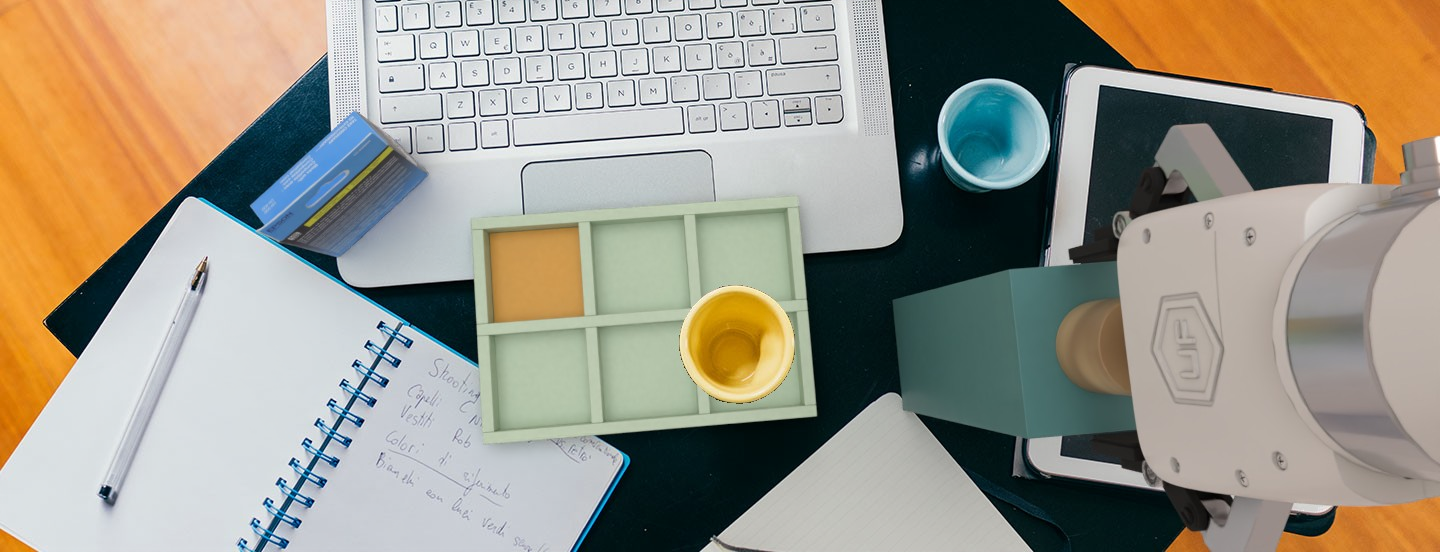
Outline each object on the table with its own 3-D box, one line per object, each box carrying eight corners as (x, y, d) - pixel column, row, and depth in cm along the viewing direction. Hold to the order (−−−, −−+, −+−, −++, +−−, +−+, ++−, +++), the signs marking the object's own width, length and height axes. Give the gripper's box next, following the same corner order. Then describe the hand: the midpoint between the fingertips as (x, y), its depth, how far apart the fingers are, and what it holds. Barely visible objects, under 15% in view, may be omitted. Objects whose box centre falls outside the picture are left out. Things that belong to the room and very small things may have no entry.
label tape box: (395, 137, 62) (326, 83, 50) (434, 177, 62) (375, 133, 50) (302, 222, 61) (209, 188, 49) (342, 263, 61) (259, 239, 49)
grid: (811, 413, 62) (817, 416, 59) (490, 441, 60) (482, 444, 58) (792, 202, 63) (797, 195, 61) (479, 224, 62) (470, 218, 59)
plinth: (1011, 401, 63) (1192, 424, 41) (902, 410, 62) (1027, 439, 40) (999, 291, 63) (1170, 257, 41) (892, 299, 63) (1008, 269, 41)
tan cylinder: (1150, 389, 41) (1205, 393, 37) (1060, 397, 41) (1105, 401, 36) (1139, 297, 41) (1192, 290, 37) (1049, 304, 41) (1092, 298, 37)
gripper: (1264, 24, 23) (1010, 167, 40) (1358, 697, 22) (1052, 545, 39) (1527, 9, 24) (1164, 157, 41) (1638, 667, 22) (1212, 530, 39)
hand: (1111, 346), depth 40 cm, fingers open, 8 cm apart
